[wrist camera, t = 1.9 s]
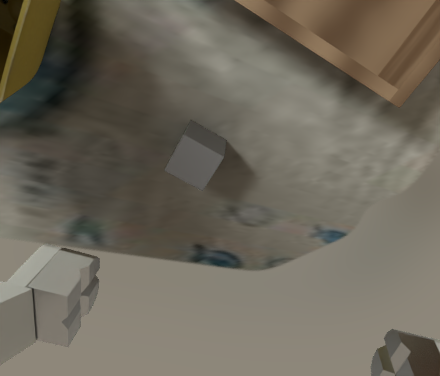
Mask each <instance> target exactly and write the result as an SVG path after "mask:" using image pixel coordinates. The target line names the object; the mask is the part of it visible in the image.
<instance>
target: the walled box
mask: <svg viewBox="0 0 440 376" xmlns="http://www.w3.org/2000/svg"><path fill="white" fill-rule="evenodd" d="M235 1H236V2H238V3H240V4H241V5H243V6H244V7H246V8H247V9H249V10H250V11H252V12H253V13H255V14H256V15H258V16H259V17H261V18H262V19H264V20H266V21H267V22H269V23H270V24H272V25H273V26H275V27H276V28H278V29H279V30H281V31H282V32H284V33H285V34H287V35H288V36H290V37H292V38H293V39H295V40H296V41H298V42H299V43H301V44H302V45H304V46H305V47H307V48H308V49H310V50H311V51H313V52H314V53H316V54H318V55H319V56H321V57H322V58H324V59H325V60H327V61H328V62H330V63H331V64H333V65H334V66H336V67H337V68H339V69H340V70H342V71H343V72H345V73H347V74H348V75H350V76H351V77H353V78H354V79H356V80H357V81H359V82H360V83H362V84H363V85H365V86H366V87H368V88H369V89H371V90H373V91H374V92H376V93H377V94H379V95H380V96H382V97H383V98H385V99H386V100H388V101H389V102H391V103H392V104H394V105H395V106H397V107H399V108H400V107H401V105H402V104H403V103H404V102H405V101H406V99H407V98H408V97H409V96H410V95H411V93H412V92H413V91H414V90H415V89H416V87H417V86H418V85H419V84H420V83H421V81H422V80H423V79H424V78H425V77H426V75H427V74H428V73H429V72H430V71H431V69H432V68H433V67H434V66H435V65H436V63H437V62H438V61H439V60H440V0H235Z"/></svg>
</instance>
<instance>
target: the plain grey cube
mask: <svg viewBox="0 0 440 376" xmlns="http://www.w3.org/2000/svg"><path fill="white" fill-rule="evenodd" d="M226 141H227V140H225V139H224V138H222V137H220V136H218V135H217V134H215V133H213V132H211V131H210V130H208V129H206V128H204V127H203V126H201V125H199V124H197V123H196V122H194V121H192V120H191V121H190V123H189V124H188V126H187V128H186V130H185V132H184V133H183V135H182V137H181V139H180V141H179V142H178V144H177V146H176V148H175V150H174V151H173V153H172V155H171V157H170V159H169V162H168V164H167V166H166V168H165V170H164V171H166V172H168V173H169V174H171V175H173V176H175V177H177V178H179V179H181V180H183V181H184V182H186V183H188V184H190V185H192V186H194V187H196V188H198V189H199V190H201V191H203V190H204V188H205V187H206V185H207V183H208V182H209V180H210V179H211V177H212V176H213V174H214V172H215V171H216V169H217V168H218V166H219V164H220V163H221V161H222V160H223V158H224V155H225V148H226Z"/></svg>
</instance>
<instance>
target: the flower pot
mask: <svg viewBox="0 0 440 376" xmlns="http://www.w3.org/2000/svg"><path fill="white" fill-rule="evenodd" d="M60 2H61V0H8V3H7V4H5V3H4V2H3V1H2V0H0V103H1V102H2V101H4V100H5V99H7V98H8V97H9V96H11V95H12V94H14V93H15V92H16V91H18V90H19V89H20V88H22V87H23V86H24V85H26V84H27V83H28V82H29V81H30V80H31V79H32V78H33V77H34V76H35V74H36V72H37V71H38V69H39V66H40V64H41V61H42V58H43V55H44V52H45V49H46V45H47V42H48V39H49V36H50V33H51V30H52V27H53V24H54V21H55V17H56V14H57V12H58V9H59V6H60ZM15 25H16V28H15Z"/></svg>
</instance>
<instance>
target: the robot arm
mask: <svg viewBox="0 0 440 376" xmlns="http://www.w3.org/2000/svg"><path fill="white" fill-rule="evenodd" d="M99 268H100V259H99V258H98V257H96V256H92V255H89V254H85V253H82V252H78V251H74V250H71V249H67V248H61V247H58V246H54V245H51V244H47V243H46V244H44V245H42V246H40V247H39V248H38V249H37V250H36V251H35V253H34V254H33V255H32V256H31V257H30V258H29V259H28V260H27V261H26V262H25V263H24V264H23V265H22V266H21V267H20V268H19V269H18V270H17V271H16V272H15V273H14V274H13V275H12V276H11V277H10V278H9V280H8V281H7V282H2V281H0V365H1V364H3V363H5V362H6V361H8V360H9V359H11V358H12V357H14V356H15V355H17V354H18V353H20V352H21V351H23V350H24V349H26V348H27V347H29V346H31V345H32V344H34V343H35V342H36V340H39V341H43V342H48V343H52V344H56V345H61V346H65V347H68V346H69V345H70V343H71V341H72V340H73V338H74V336H75V335H76V333H77V331H78V330H79V328H80V325H81V317H82V316H84V315H86V314H88V313H89V311H90V310H91V308H92V306H93V304H94V301H95V299H96V296H97V292H98V288H99V279H98V278H97V276H96V275H95V274H96V273H97V271H98V270H99ZM384 340H385V343H386V345H385V346H383V347H380V348H379V349H377V350H376V352H375V354H374V356H373V359H372V364H371V376H440V340H438V339H433V338H428V337H424V336H419V335H416V334H411V333H407V332H403V331H398V330H394V329H392V330H390V331H388V332H387V334H386V335H385V337H384Z"/></svg>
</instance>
